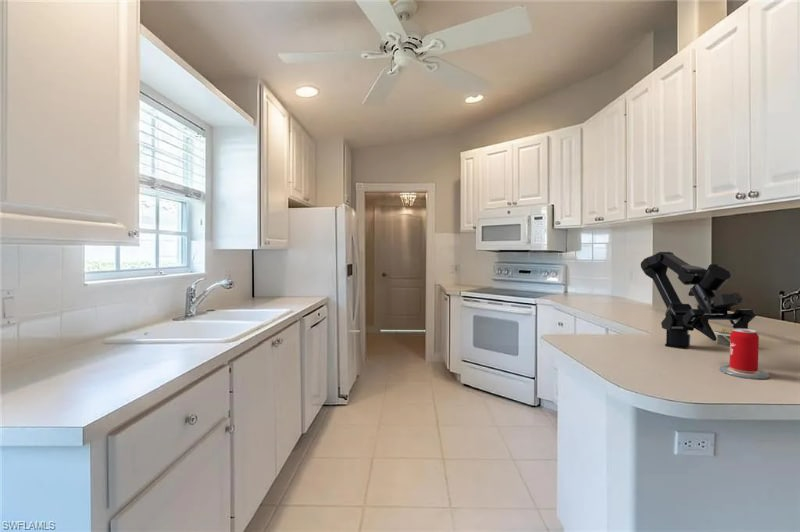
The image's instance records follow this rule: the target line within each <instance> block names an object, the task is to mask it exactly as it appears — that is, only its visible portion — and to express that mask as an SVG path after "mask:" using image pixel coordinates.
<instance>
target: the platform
mask: <svg viewBox="0 0 800 532" xmlns="http://www.w3.org/2000/svg"><path fill="white" fill-rule="evenodd" d="M722 330H723V331H720V330H719V331H718V330H713V332H714V334H715V335H717V345H722V344H724V345H723V346H729V345H730V334H731V332H732V331H733V328H724V327H723V328H722Z"/></svg>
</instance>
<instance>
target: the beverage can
mask: <svg viewBox="0 0 800 532" xmlns="http://www.w3.org/2000/svg"><path fill="white" fill-rule="evenodd" d="M732 330H733V331H732ZM732 330H731V334H730V346H729V365H730V367H731V368H732V369H733V370H735V371H738V372H743V373H754V372H756V371H758V370H759V348H760V347H759V345H760V343H759V342H760V341H759V339H760V336H759V334H758V333H757V330H755V329H751V328H748V329H742V328H732Z"/></svg>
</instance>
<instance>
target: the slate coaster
mask: <svg viewBox="0 0 800 532" xmlns="http://www.w3.org/2000/svg"><path fill="white" fill-rule="evenodd" d="M718 370H719V371H720V372H721V373H723V372H724V373H723V374H725V373H727V374H726V375H728V374H730V375H729V376H732V375H734V376H733V377H736V376H738V377H737V378H741V377H743V378H742V379H747V378H751V379H750V380H760V379H761V380H768V379H770V374H769V373H768V372H766V371H763V370H761V369H758V371H756V372H754V373H743V372H738V371H735V370H733V369H732V368H731V367H730V364H728V365H726V364H725V365H721V366H719V368H718Z"/></svg>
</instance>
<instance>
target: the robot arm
mask: <svg viewBox="0 0 800 532" xmlns="http://www.w3.org/2000/svg"><path fill="white" fill-rule="evenodd" d="M640 269H642V272H643V273H644V274H645V276H647V277H649V278H650V279H652V280H653V282H654V285H655V286H656V288H657V291H658V293H659V295H660V297H661V299H662V301H663V302H664V303H663V304H664V305H665V307H666V310H665V314H664V315H665V317H664V318H663V320H662V321H661V322H660V323H661V328H662V329H663V330H666V331H665V332H666V335H665V338H666V339H665V342H666V343H665V344H664V346H666V347H672V348H679V349H688V347H689V346H690V345H691V334H690V333H689V331H691V332H692V331H693V332H694V331H695V330H697V331H698V332H700V333H702V334H703V335H704V336H706V337H707V338H709V339H710V340H711V341H712V342H716V341H718V338H717V337H716V333H714V330H713V328H712V327H711V325H710V323H709V321H711V320H712V321H729V322H730V324H732V329H734V328H742V329H749V323H750V322H751V321H752V320H754V319H755V318H756V316H757V314H756V313H755V311H754V310H753V309H749V308H738V309H736V310H735V311H734V312H733V313H728V312H730V311H731V310H732V307H733V306H738V305H739V304H741V303H742V302H743V297H742V295H741V294H740V293H739V292H732V293H721V294H717V293H716V291H718V290H721V288H722V287H723V286H724V285H725V283H727V282H728V280H729V279H730V278H731V272H730V271H729V270H727V269H726V268H724V267H722V266H719V265H718V264H717V263H710V264H709V265H708V267H707V269H706V268H704V267H701V266H699V265H698V266H697V265H691V264H689V263H687V261H684V260H683V259H681V258H680V257H678V256H677V255H675V254H674V253H673V252H671V251H659V252H656V253H655V254H653V255H651V256H647V257H646V258H644V259H643V260H642V261H641V262H640ZM668 269H670V270H672V271H673V272H674V273H675V274H677V279H678V280H679V281H680V282H681V284H683V285H685V286H692V287H690V289H689V292H688V293H687V294H688V296H689V297H694V298H695V301H696V302H697V306H696V308H692V305H690V303H682V301H681V299H680V297H679V296H678V293H677V292H676V289H675V288H674V286H673V284H672V282H671V281H670V278H669V277H668V275H667V271H668ZM694 329H695V330H694Z"/></svg>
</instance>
